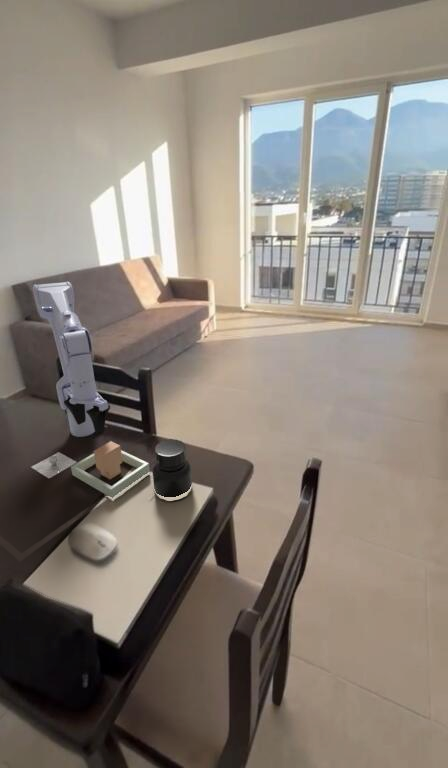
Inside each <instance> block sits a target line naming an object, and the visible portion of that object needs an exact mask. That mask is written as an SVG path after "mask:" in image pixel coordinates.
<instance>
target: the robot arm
mask: <svg viewBox="0 0 448 768" xmlns="http://www.w3.org/2000/svg"><path fill="white" fill-rule="evenodd" d="M32 293H33V298H34V301H35V306H36V308H37V312H38V314H39V316H40V318H42V319H45V320H47V321H48V323H49V325H50V327H51V328H52V333H53V337H54V341H55V345H56V348H57V352H58V357H59V362H60V364H61V369H62V372H63V373H62V374H63V376H62V377H60V378H59V380H58V381H57V382H56V385H55V386H56V387H55V388H56V392H57V398H58V403H59V406H60V408H61V409H62V410H64V411H65V410H66V414H67V419H68V424H69V430H70V434H71V435H72V436H74V437H78V438H79V437H81V438H82V437H87V436H91V435H92V434H94V433H96V434H100V433H101V432H104V431H105V427H106V428H107V426H106V421H107V416H108V413H109V411H110V409H111V406H110V404H108V401H107V400H106V399H104V398H103V397H102V396H101V394H99V392H98V391H97V386H96V381H95V379H96V378H95V375H94V367H93V361H92V353H93V342H92V338H91V335H90V331H88V329H87V328H85V327H83V326H82V323H81V321H80V317H78V314H76V313H75V299H76V298H75V293H74V288H73V285H72V283H71V282H69V281H64V282H54V283H53V282H52V283H43V284H41V283H40V284H33V286H32Z"/></svg>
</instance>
